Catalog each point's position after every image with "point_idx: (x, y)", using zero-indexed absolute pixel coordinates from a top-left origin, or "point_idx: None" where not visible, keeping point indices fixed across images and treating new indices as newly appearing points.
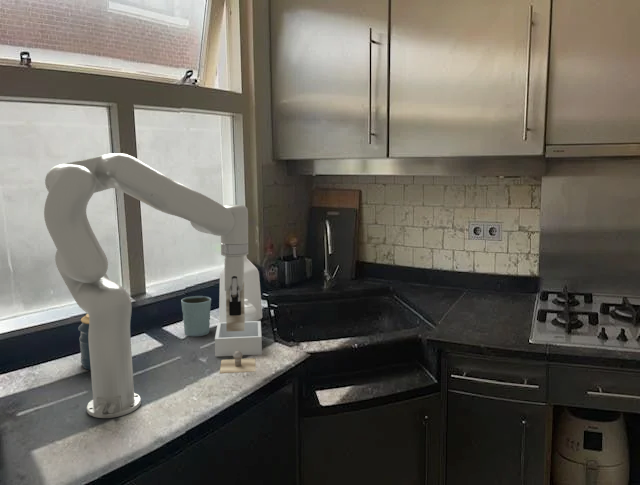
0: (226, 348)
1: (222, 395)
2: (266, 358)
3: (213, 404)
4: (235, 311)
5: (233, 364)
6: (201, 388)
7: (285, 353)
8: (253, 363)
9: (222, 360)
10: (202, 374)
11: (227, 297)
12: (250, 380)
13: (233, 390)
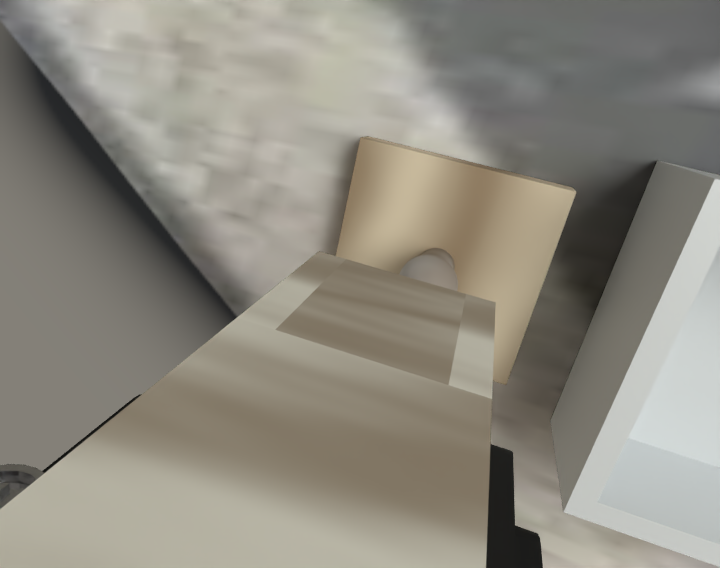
0: (646, 253)
1: (170, 112)
2: (545, 443)
3: (93, 53)
4: None
5: (460, 244)
6: (272, 13)
7: (570, 548)
8: None
9: (561, 195)
10: (464, 41)
11: (38, 505)
12: None
13: (208, 174)
